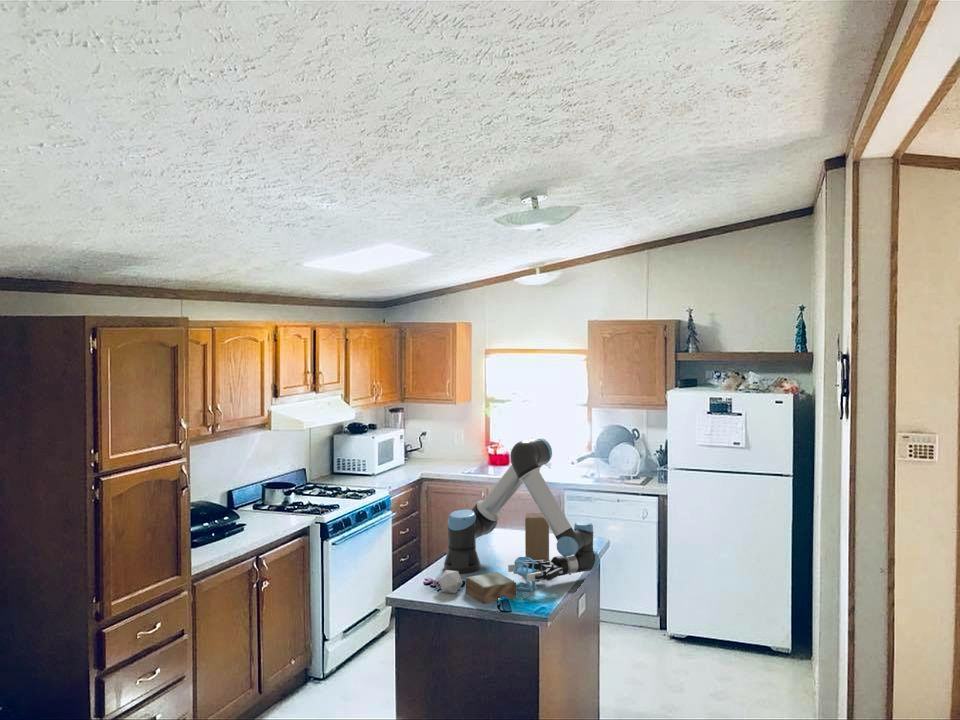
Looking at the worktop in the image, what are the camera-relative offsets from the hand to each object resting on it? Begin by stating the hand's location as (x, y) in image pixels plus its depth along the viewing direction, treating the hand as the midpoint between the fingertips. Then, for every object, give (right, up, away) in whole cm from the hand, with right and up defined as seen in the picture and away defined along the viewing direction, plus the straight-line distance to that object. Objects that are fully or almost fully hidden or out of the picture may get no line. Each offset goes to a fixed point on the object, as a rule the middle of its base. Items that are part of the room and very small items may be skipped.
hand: (517, 573), depth 292 cm
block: (+11, -6, +38) cm, 40 cm away
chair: (+3, -7, +2) cm, 7 cm away
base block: (-10, -7, -5) cm, 13 cm away
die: (-26, -7, -1) cm, 27 cm away
